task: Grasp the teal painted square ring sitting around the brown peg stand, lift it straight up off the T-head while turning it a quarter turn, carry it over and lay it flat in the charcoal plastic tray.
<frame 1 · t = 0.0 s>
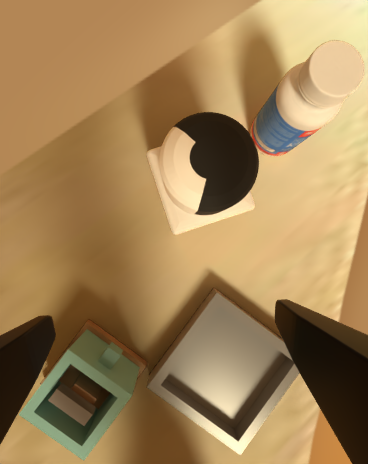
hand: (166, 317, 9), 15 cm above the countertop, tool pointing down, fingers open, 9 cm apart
brown peg stand: (96, 370, 24), on the countertop
labeled white jar: (194, 195, 24), on the countertop
pill bottle: (272, 134, 25), on the countertop
tray: (224, 362, 24), on the countertop
ring: (93, 375, 23), point 1 cm above the countertop, touching brown peg stand
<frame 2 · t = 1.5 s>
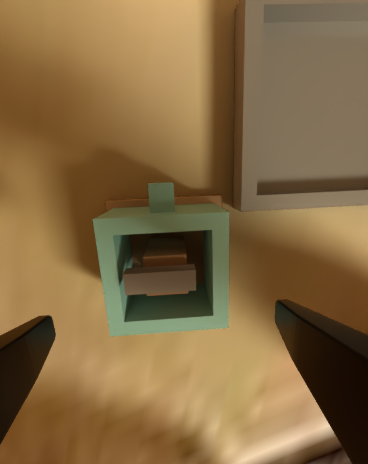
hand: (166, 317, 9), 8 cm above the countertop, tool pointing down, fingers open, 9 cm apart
brown peg stand: (168, 249, 17), on the countertop
tray: (320, 115, 15), on the countertop
ring: (167, 253, 16), point 1 cm above the countertop, touching brown peg stand
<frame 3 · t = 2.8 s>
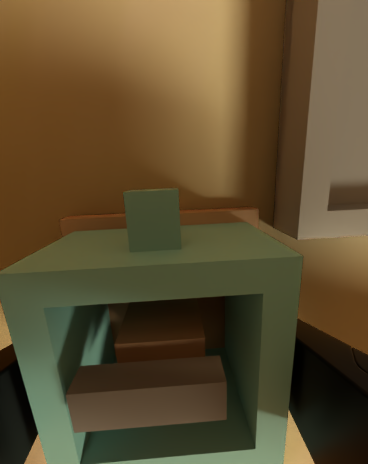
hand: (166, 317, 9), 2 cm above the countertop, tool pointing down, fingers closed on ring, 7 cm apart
brown peg stand: (167, 293, 10), on the countertop
ring: (167, 303, 10), point 1 cm above the countertop, touching gripper, brown peg stand
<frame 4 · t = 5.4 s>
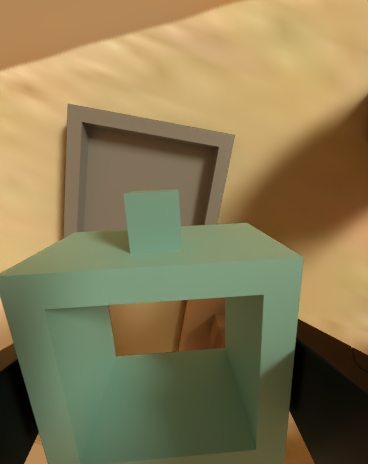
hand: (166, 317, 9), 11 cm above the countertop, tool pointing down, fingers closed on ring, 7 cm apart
brown peg stand: (222, 320, 22), on the countertop
tray: (147, 200, 19), on the countertop
ring: (167, 303, 10), point 10 cm above the countertop, touching gripper
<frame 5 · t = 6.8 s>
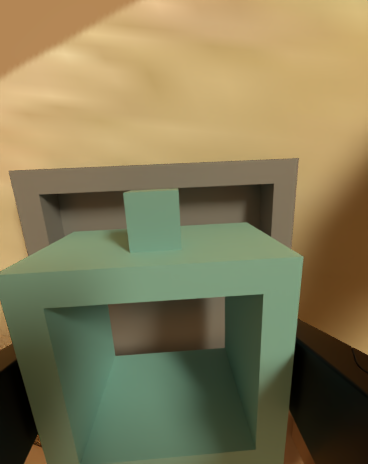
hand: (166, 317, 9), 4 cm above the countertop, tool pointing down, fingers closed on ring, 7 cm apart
brown peg stand: (303, 410, 15), on the countertop
tray: (167, 276, 12), on the countertop
ring: (167, 303, 10), point 3 cm above the countertop, touching gripper
when the fingers open (3 cm above the countertop, at t = 7.8 s): ring drops 2 cm, resting on tray.
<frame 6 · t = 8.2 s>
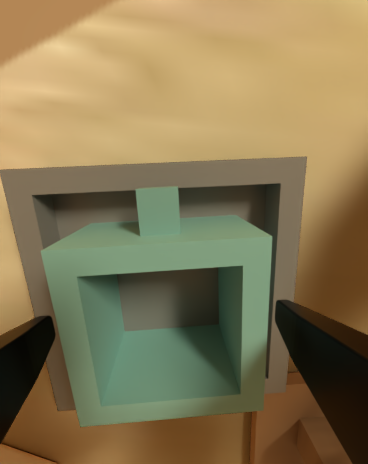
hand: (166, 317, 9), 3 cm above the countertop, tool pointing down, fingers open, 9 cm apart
brown peg stand: (308, 417, 15), on the countertop
tray: (167, 279, 12), on the countertop
ring: (168, 285, 11), point 1 cm above the countertop, touching tray
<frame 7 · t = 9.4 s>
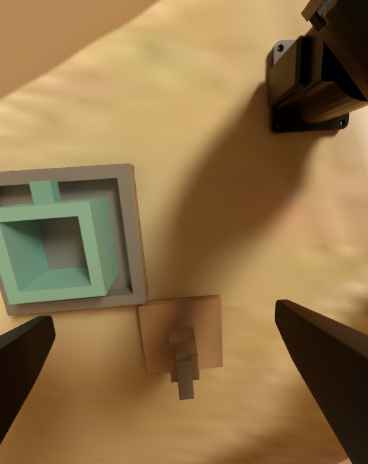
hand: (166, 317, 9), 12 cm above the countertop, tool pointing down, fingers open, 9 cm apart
brown peg stand: (181, 332, 23), on the countertop
tray: (74, 238, 20), on the countertop
ring: (72, 240, 19), point 1 cm above the countertop, touching tray
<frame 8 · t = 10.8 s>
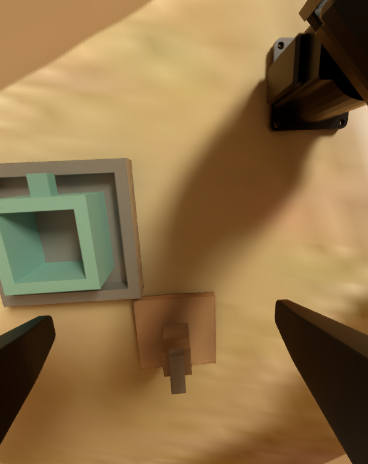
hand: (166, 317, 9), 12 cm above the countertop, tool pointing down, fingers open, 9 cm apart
brown peg stand: (176, 328, 23), on the countertop
tray: (71, 232, 20), on the countertop
ring: (69, 233, 19), point 1 cm above the countertop, touching tray
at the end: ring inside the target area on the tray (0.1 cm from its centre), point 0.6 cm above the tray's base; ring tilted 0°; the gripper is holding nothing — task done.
